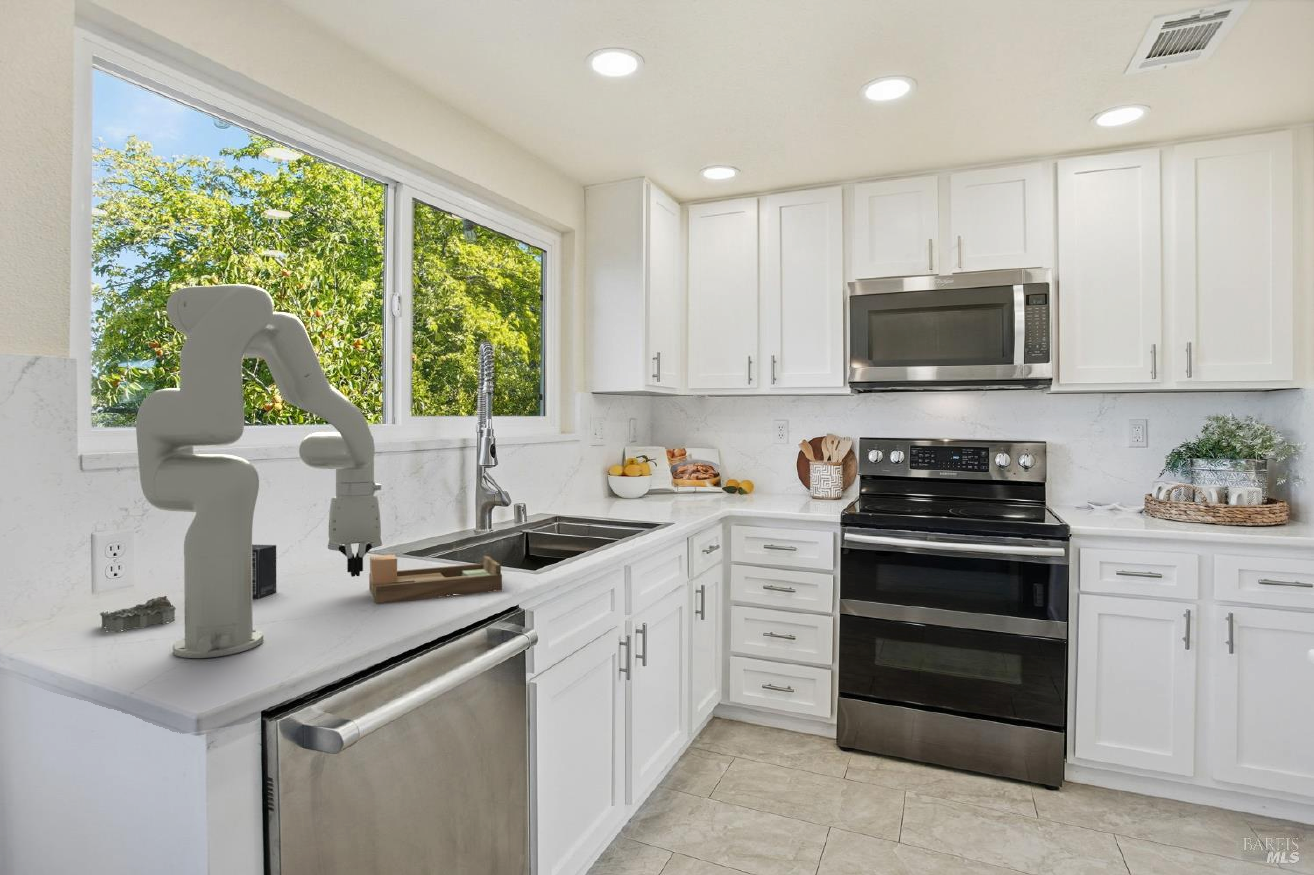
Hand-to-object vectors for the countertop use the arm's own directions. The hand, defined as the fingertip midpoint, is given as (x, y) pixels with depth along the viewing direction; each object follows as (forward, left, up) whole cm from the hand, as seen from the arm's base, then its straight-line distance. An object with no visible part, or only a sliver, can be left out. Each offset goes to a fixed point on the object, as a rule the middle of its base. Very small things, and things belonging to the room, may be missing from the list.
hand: (355, 575), depth 151 cm
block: (0, -6, -2) cm, 6 cm away
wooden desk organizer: (-3, -16, -4) cm, 17 cm away
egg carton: (-7, +37, -5) cm, 38 cm away
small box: (+10, +21, -4) cm, 23 cm away
